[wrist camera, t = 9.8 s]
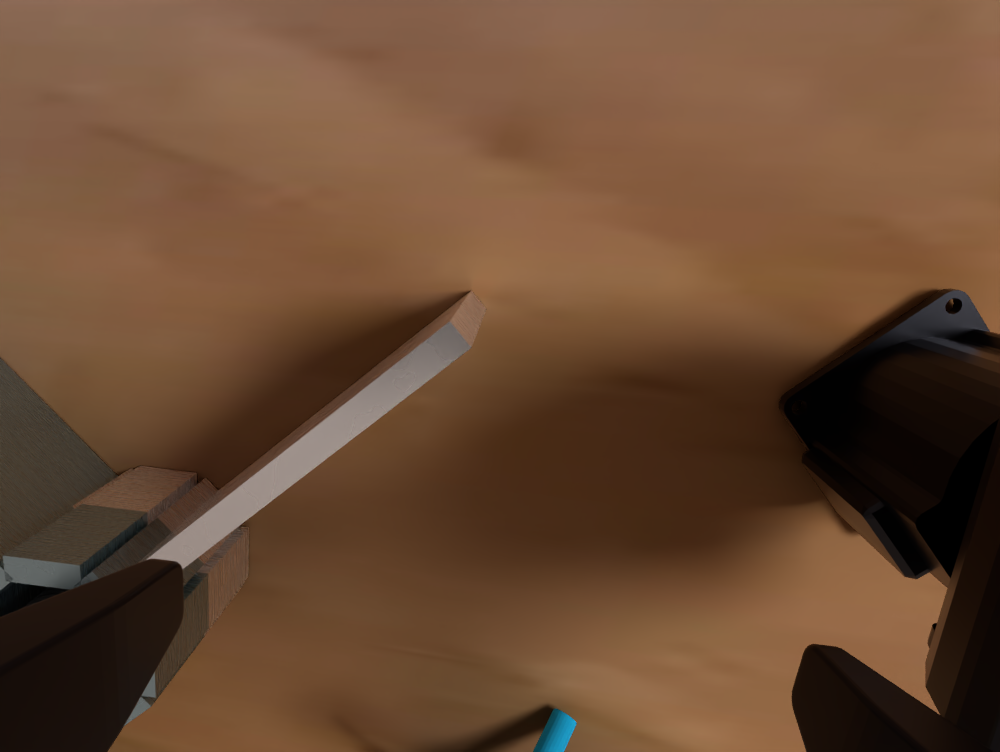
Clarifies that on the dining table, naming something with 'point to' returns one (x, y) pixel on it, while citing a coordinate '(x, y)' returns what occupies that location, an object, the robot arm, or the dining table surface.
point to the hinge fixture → (175, 492)
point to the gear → (556, 733)
